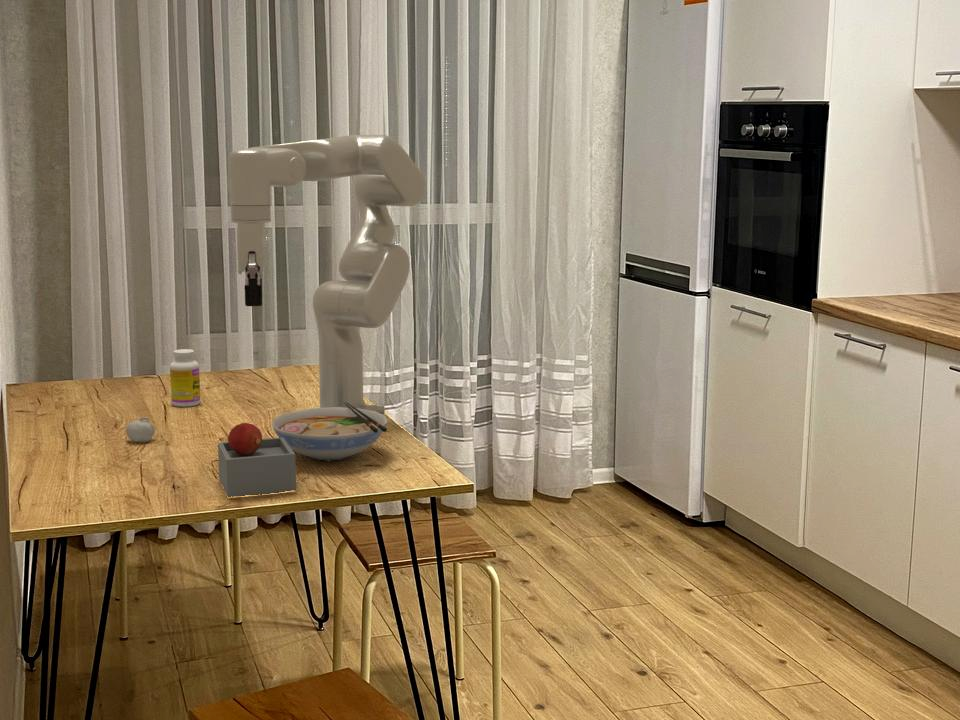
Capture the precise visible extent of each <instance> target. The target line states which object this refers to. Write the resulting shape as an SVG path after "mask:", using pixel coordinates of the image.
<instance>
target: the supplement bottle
mask: <svg viewBox="0 0 960 720" xmlns="http://www.w3.org/2000/svg"><path fill="white" fill-rule="evenodd" d="M194 357H195V350H194V349H190V348H189V349H188V348H183V349H176V350H173V358H174V360H173V361H172V362H171V363H170V365H169V373H170V374H169V375H170V396H171V397H170V399H171V404H172V405H173V406H175V407H181V408H186V407H187V408H189V407H190V408H191V407H195V406H197V405H199V404H200V403H201V387H200V386H201V382H200V381H201V380H200V364H199V362H198V361H196V360H195V359H194Z"/></svg>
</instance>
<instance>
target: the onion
mask: <svg viewBox="0 0 960 720" xmlns="http://www.w3.org/2000/svg"><path fill="white" fill-rule="evenodd" d="M262 439H263V434H262V432H261V430H260V428H258V427H257V426H256V425H255V424H253V423H248V422H243V423H239V424H237V425H235V426H234V427H232V429H231V430H230V432H229V433H228V436H227V437H226V440H227V442H229V445H230V447H231V449H232V450H233V451H234V452H236V453H237V454H240V455H244V456H245V455H250V454H253V453H254V452H256V451H257V450H258V449H259V447H260V445H261V442H262Z"/></svg>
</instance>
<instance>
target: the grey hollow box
mask: <svg viewBox="0 0 960 720" xmlns="http://www.w3.org/2000/svg"><path fill="white" fill-rule="evenodd" d="M217 449H218V450H217V455H218V457H217V458H218V479H220V480H219V482H220V481H221V483H222V485H223V487H224V489H223V491H224V490H225V492H226V494H227V496H228V497H231V496H232V497H233V496H245V495H259V494H260V495H262V494H270V493H279V492H285V491H291V490H296V491H297V482H296V481H297V478H296V477H297V471H296V453H295V451H294V450H292V449H291V447H290V446H289V445H288V443H287V442H286V440H285V439H284V438H283V437H280V438H279V437H271V438H270V437H269V438H262V442H261V445H260V447H259V449H258V450H257V451H256V452H254V453H253V454H250V455H245V456H244V455H240V454H237V453H236V452H234V451H233V450H232V449H231V447H230V445H229V442H228V441H220V442H217ZM221 483H220V484H221ZM222 485H221V486H222ZM223 487H222V488H223ZM225 492H224V493H225ZM226 494H225V495H226ZM227 496H226V497H227Z"/></svg>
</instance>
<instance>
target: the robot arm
mask: <svg viewBox="0 0 960 720" xmlns="http://www.w3.org/2000/svg"><path fill="white" fill-rule="evenodd" d="M228 159H229V160H228V163H229V165H228V166H229V189H230V190H229V191H230V192H229V193H230V217H231V218H230V220H231V221H230V222H231V223H233V224H234V223H235V224H236V251H237V252H236V253H237V254H236V256H237V258H236V259H237V273H238V274H239V275H242V274H243V273H244V272H245V273H244V275H245V276H244V277H245V279H244V280H245V282H244V306H246V307H262V305H263V284H262V282H263V281H262V278H261V275H262V274H263V273H264V271H265V259H266V258H265V257H266V225H265V224H266V223H271V222H272V216H271V215H272V213H271V212H272V211H271V208H272V207H271V187H275V188H289V187H295V186H296V185H298V184H300V183H301V182H319V181H320V182H321V181H322V182H323V181H324V182H325V181H331V180H336V179H339V178H341V179H342V178H347V177H353V176H356V177H355V181H354V193H355V197H356V202H357V206H358V212H359V213H358V214H359V215H358V216H359V217H358V218H359V219H358V223H357V225H356V228H355V230H354V232H353V234H352V236H351V238H350V239H349V241H348V244H347V245H346V247H345V249H344V251H343V254H342V256H341V258H340V259H339V262H338V263H339V264H338V272H339V274H340V276H341V277H342V279H344V280H339V279H338V280H328V281H326V282H322V283H321V284H320V285H319V286H318V287H317V288H316V289H315V290H314V292H313V297H312V309H313V314H314V317H315V322H316V323H315V324H316V329H317V339H318V367H319V368H318V374H319V375H318V377H319V381H318V382H319V408H327V407H345V408H348V407H347V406H346V405H345V404H344V403H346V404H347V403H349V404H350V405H352V406H353V407H355V408H360V409H365V410H370V411H375V412H378V413H380V414H382V415H385V412H386V411H385V405H378V404H371V405H369V404H367V403H366V402H365V400H364V372H363V371H364V366H363V364H364V363H363V362H364V361H363V353H364V352H363V351H364V349H363V348H364V347H363V341H362V338H361V334H360V333H359V331H358V328H364V329H376V328H380V327H381V326H383V325H384V324H385V323H386V322H387V320H389V317H390V315H391V313H392V312H393V310H394V308H395V305H397V302H398V300H399V298H400V296H401V294H402V291H403V290H404V287H405V285H406V284H407V283H406V282H407V280H408V278H409V274H410V264H411V263H410V257H409V254H408V252H407V251H406V250H405V249H404V248H403V246H400V245H399V244H394V243H392V242H393V240H394V237H395V234H396V233H395V232H396V229H395V225H394V222H393V220H392V218H391V217H392V216H391V215H390V212H389V209H388V207H389V206H390V207H414V206H417V205H418V204H419V203H421V202H422V201H423V200H424V197H425V195H426V189H427V187H426V180H425V177H424V175H423V173H422V171H421V170H420V168H419V167H418V166H417V164H416V163H415V162H414V161H413V160H412V158H411V157H410V155H409V154H408V153H407V151H406V150H405V149H404V148H403V146H401V144H399V142H397V140H396V139H394V138H393V137H391V136H389V135H385V134H351V135H349V134H348V135H344V136H343V135H341V136H335V137H330V138H328V137H327V138H319V139H312V140H311V139H310V140H304V141H297V142H290V143H289V142H288V143H287V142H286V143H280V144H279V143H278V144H269V145H262V146H252V147H248V148H246V149H244V148H243V149H235V150H232V151H231V152H230V153H229V157H228ZM347 405H348V404H347ZM350 405H348V406H349V407H351V406H350ZM351 408H352V407H351Z"/></svg>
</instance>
